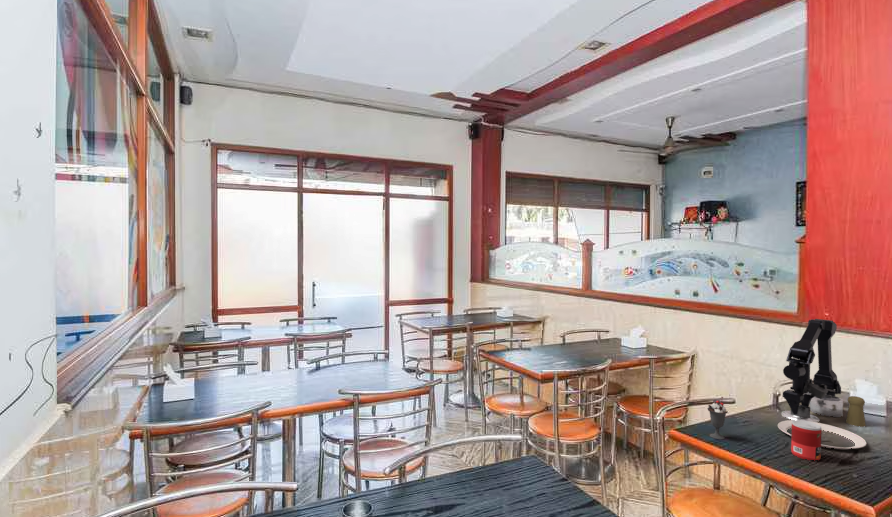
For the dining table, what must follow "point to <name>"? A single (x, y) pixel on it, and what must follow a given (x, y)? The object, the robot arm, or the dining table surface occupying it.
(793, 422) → the canned food
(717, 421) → the sundae
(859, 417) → the cork
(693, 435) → the dining table surface
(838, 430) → the plate
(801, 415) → the cooker lid
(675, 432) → the dining table surface
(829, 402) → the cooker pot
